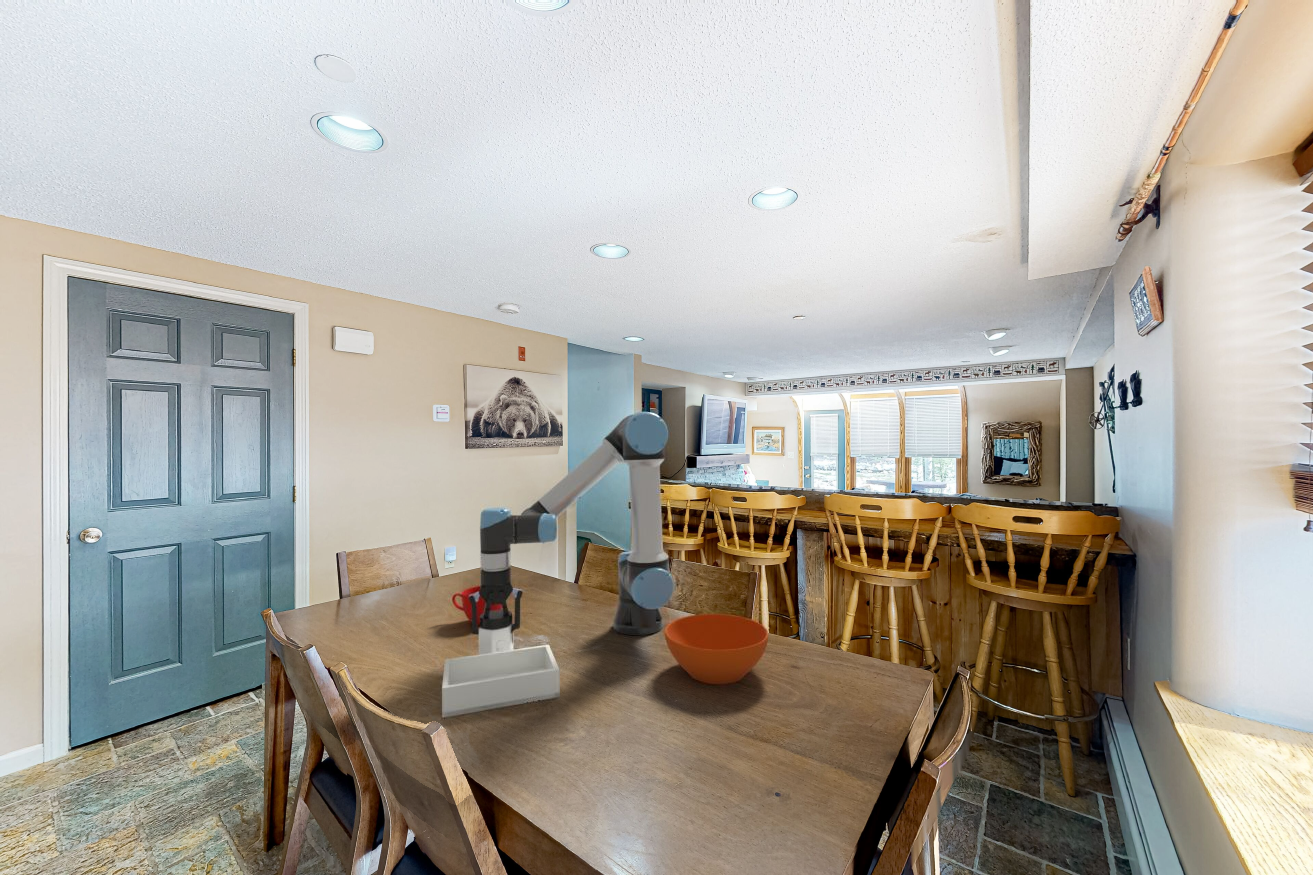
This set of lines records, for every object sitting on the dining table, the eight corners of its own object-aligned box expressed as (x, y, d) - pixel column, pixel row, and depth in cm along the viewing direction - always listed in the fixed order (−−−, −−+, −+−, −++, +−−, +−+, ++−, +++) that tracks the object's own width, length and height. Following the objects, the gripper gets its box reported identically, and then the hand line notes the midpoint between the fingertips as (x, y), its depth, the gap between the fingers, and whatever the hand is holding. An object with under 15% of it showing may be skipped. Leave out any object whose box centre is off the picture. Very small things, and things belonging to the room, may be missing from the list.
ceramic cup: (463, 614, 172) (462, 584, 173) (511, 616, 170) (511, 585, 170) (441, 628, 160) (441, 595, 160) (493, 629, 157) (493, 596, 157)
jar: (483, 670, 128) (482, 622, 129) (474, 659, 135) (474, 613, 135) (518, 662, 133) (518, 615, 134) (508, 651, 140) (508, 607, 140)
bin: (549, 668, 129) (548, 644, 129) (559, 696, 114) (559, 669, 114) (445, 685, 121) (445, 659, 121) (442, 717, 106) (442, 688, 106)
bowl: (778, 659, 132) (778, 620, 133) (754, 704, 110) (753, 657, 110) (687, 645, 143) (686, 609, 143) (647, 683, 120) (647, 640, 120)
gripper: (528, 561, 141) (529, 647, 141) (460, 567, 135) (460, 657, 135) (531, 567, 134) (532, 658, 134) (459, 574, 128) (460, 669, 128)
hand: (496, 657), depth 134 cm, fingers closed on jar, 4 cm apart
